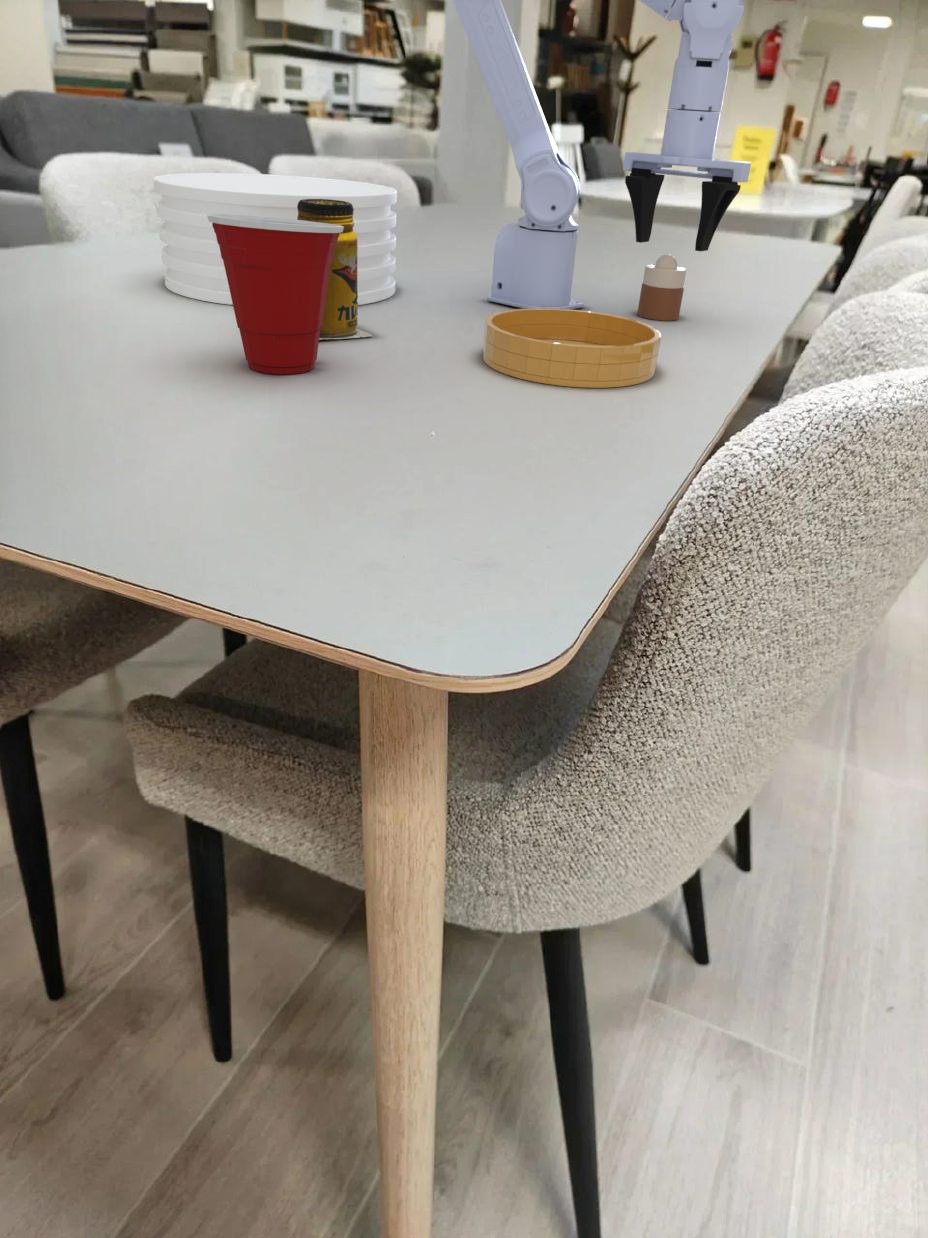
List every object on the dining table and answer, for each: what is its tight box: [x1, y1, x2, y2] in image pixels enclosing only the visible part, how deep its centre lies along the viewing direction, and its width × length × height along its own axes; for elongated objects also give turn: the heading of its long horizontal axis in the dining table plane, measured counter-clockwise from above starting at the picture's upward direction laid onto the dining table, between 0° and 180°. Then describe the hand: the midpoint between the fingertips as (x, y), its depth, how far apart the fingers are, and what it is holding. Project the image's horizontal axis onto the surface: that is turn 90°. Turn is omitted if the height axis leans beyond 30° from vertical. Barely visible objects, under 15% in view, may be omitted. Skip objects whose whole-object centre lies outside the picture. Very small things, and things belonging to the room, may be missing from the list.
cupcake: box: [636, 254, 687, 322], centre depth 103 cm, size 5×5×7 cm
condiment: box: [297, 199, 373, 341], centre depth 84 cm, size 7×8×12 cm
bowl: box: [482, 308, 662, 389], centre depth 81 cm, size 16×16×4 cm
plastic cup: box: [207, 214, 344, 375], centre depth 72 cm, size 11×11×12 cm
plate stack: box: [153, 172, 398, 306], centre depth 104 cm, size 28×28×12 cm
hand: (671, 245), depth 100 cm, fingers open, 7 cm apart
